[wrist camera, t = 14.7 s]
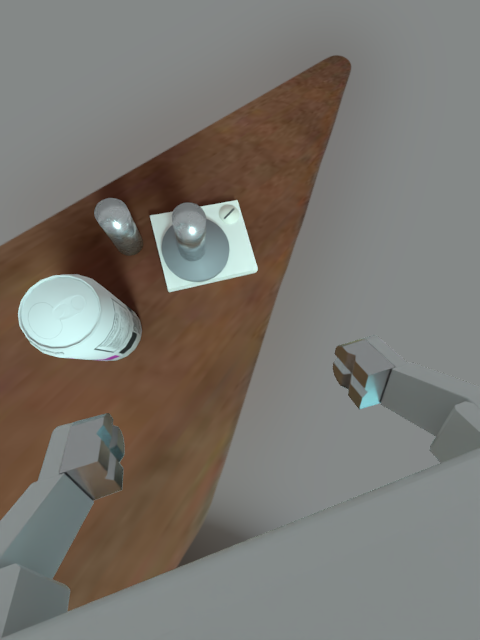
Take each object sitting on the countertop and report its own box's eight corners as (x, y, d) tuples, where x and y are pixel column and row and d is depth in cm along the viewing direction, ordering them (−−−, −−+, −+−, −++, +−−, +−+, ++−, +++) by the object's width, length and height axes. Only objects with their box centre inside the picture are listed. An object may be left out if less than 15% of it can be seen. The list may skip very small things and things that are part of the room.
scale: (169, 292, 42) (166, 287, 39) (151, 220, 43) (148, 211, 41) (256, 272, 44) (259, 266, 41) (236, 205, 46) (238, 196, 43)
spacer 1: (119, 257, 42) (97, 230, 33) (113, 233, 42) (91, 200, 34) (145, 252, 42) (131, 224, 34) (140, 228, 43) (124, 195, 34)
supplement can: (102, 372, 38) (39, 375, 24) (72, 323, 39) (-7, 297, 24) (153, 340, 40) (124, 325, 25) (124, 294, 41) (79, 253, 26)
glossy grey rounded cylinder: (181, 263, 40) (176, 236, 32) (175, 239, 41) (168, 205, 32) (208, 258, 41) (209, 230, 32) (201, 233, 41) (201, 199, 33)
